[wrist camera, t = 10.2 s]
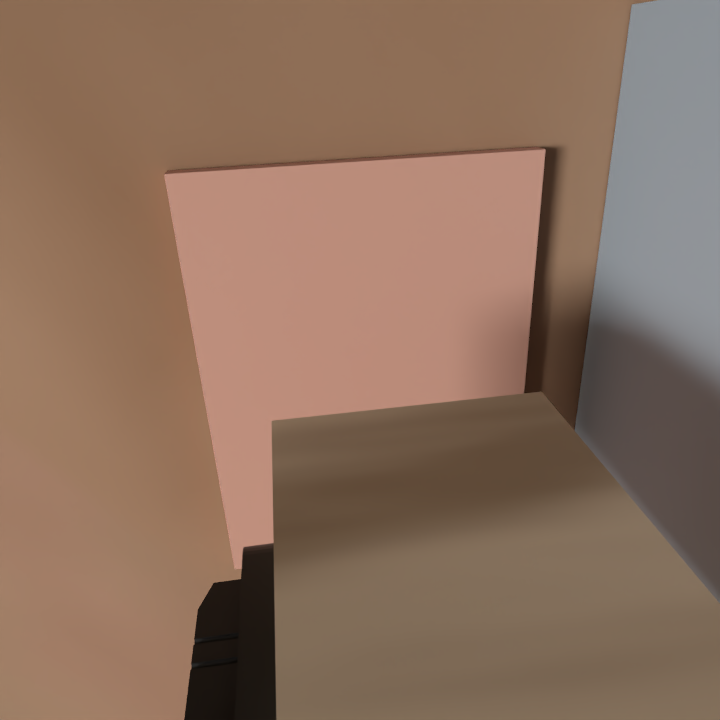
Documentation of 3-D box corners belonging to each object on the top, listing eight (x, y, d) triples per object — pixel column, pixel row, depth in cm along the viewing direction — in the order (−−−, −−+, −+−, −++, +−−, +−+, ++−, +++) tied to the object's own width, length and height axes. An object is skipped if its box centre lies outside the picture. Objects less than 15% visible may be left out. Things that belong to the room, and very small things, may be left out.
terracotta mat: (167, 170, 14) (164, 174, 14) (537, 146, 15) (545, 149, 15) (235, 557, 20) (234, 569, 19) (506, 522, 20) (511, 532, 20)
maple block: (271, 420, 11) (280, 906, 5) (541, 391, 11) (877, 791, 5) (296, 619, 13) (324, 1131, 7) (521, 588, 14) (739, 1035, 7)
